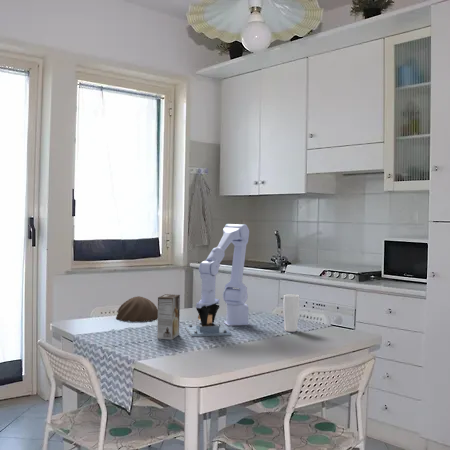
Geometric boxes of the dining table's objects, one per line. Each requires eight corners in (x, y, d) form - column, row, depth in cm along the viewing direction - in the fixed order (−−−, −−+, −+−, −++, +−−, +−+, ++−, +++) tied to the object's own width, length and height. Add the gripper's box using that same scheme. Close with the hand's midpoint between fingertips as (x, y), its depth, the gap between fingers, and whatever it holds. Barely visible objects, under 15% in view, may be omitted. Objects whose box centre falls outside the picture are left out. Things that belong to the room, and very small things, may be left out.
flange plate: (222, 327, 236) (222, 320, 236) (231, 335, 221) (231, 327, 221) (185, 328, 233) (185, 321, 233) (191, 336, 217) (191, 329, 217)
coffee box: (164, 333, 221) (164, 293, 221) (179, 334, 220) (180, 294, 220) (156, 338, 212) (157, 297, 212) (172, 339, 211) (173, 297, 211)
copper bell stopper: (213, 329, 227) (214, 314, 227) (207, 330, 224) (208, 315, 224) (202, 326, 231) (203, 312, 231) (196, 327, 228) (197, 313, 228)
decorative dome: (130, 312, 267) (130, 292, 267) (166, 316, 260) (167, 295, 260) (107, 319, 249) (107, 297, 249) (146, 323, 242) (146, 301, 242)
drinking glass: (280, 331, 231) (281, 295, 230) (286, 328, 237) (286, 293, 236) (295, 333, 227) (296, 296, 227) (301, 330, 233) (302, 294, 233)
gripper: (209, 287, 235) (209, 319, 235) (190, 291, 222) (189, 325, 223) (224, 289, 231) (223, 321, 231) (204, 292, 219) (204, 327, 219)
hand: (207, 323), depth 227 cm, fingers open, 5 cm apart
